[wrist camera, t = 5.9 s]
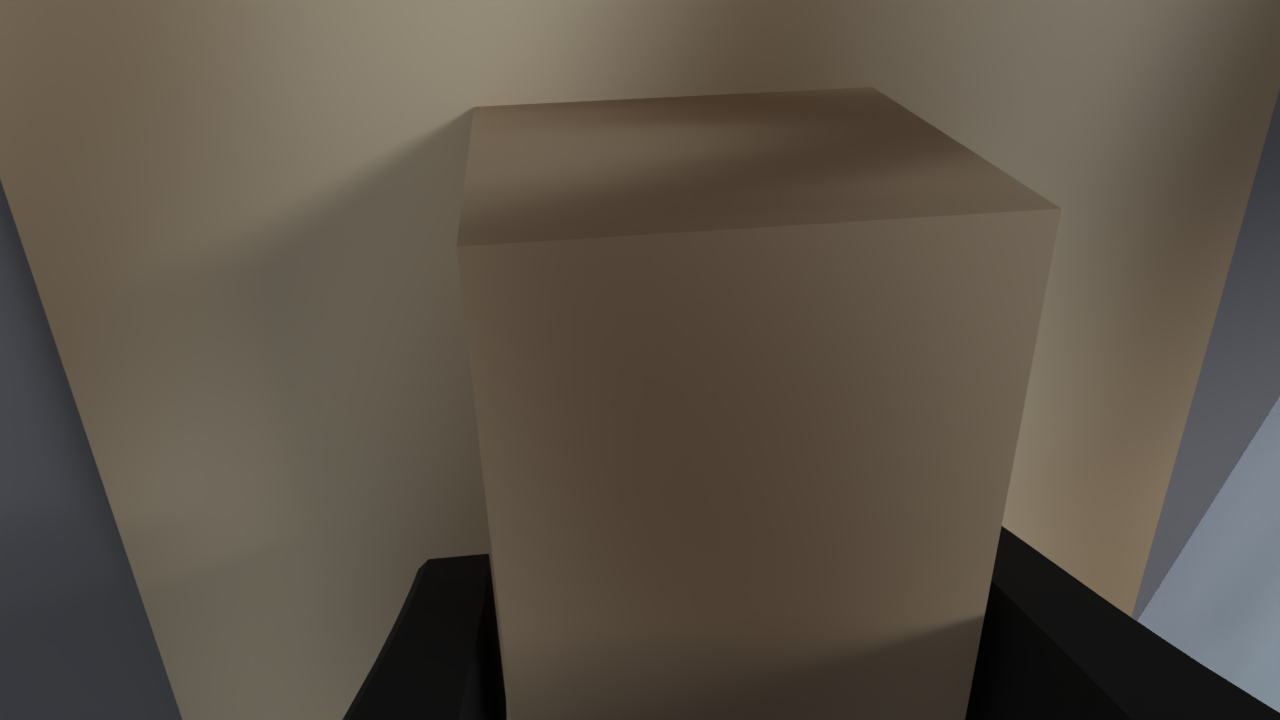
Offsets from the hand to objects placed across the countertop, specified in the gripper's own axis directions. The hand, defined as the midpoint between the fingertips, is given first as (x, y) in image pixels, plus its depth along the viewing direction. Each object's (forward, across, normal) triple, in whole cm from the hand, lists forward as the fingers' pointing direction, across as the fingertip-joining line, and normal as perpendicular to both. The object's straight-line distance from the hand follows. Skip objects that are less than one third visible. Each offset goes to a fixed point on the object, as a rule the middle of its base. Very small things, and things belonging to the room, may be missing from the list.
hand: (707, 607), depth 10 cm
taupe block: (+3, 0, 0) cm, 3 cm away
